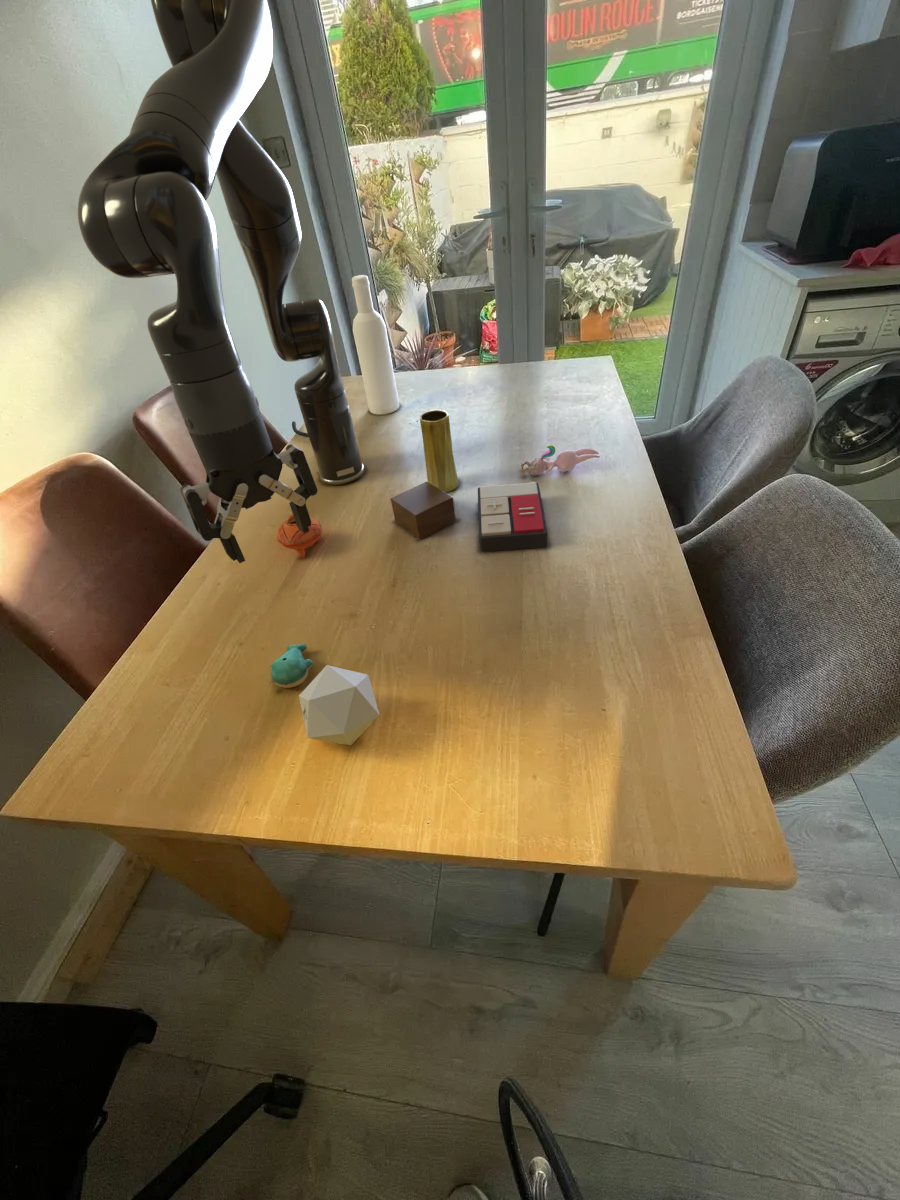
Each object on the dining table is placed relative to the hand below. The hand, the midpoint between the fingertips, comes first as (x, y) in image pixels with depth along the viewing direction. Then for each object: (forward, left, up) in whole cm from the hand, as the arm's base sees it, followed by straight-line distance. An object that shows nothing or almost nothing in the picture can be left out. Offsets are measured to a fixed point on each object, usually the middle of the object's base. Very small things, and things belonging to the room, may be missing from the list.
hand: (272, 544), depth 68 cm
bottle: (-65, +53, -18) cm, 85 cm away
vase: (-22, +40, -18) cm, 49 cm away
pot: (-23, +10, -18) cm, 30 cm away
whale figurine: (+3, -4, -18) cm, 18 cm away
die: (+16, -3, -18) cm, 24 cm away
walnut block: (-14, +30, -18) cm, 37 cm away
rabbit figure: (-9, +59, -18) cm, 62 cm away
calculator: (-2, +40, -18) cm, 44 cm away
